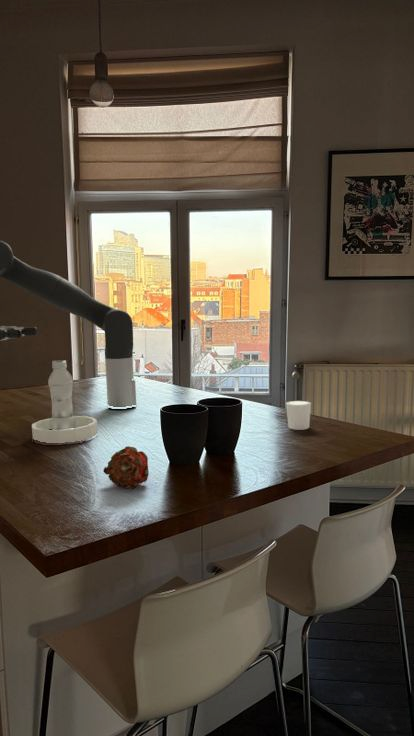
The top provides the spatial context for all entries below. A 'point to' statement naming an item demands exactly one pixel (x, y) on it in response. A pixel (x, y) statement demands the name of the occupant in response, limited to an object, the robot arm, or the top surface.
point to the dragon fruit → (128, 468)
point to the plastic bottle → (61, 396)
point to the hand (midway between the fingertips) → (29, 332)
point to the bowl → (65, 431)
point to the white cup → (298, 414)
